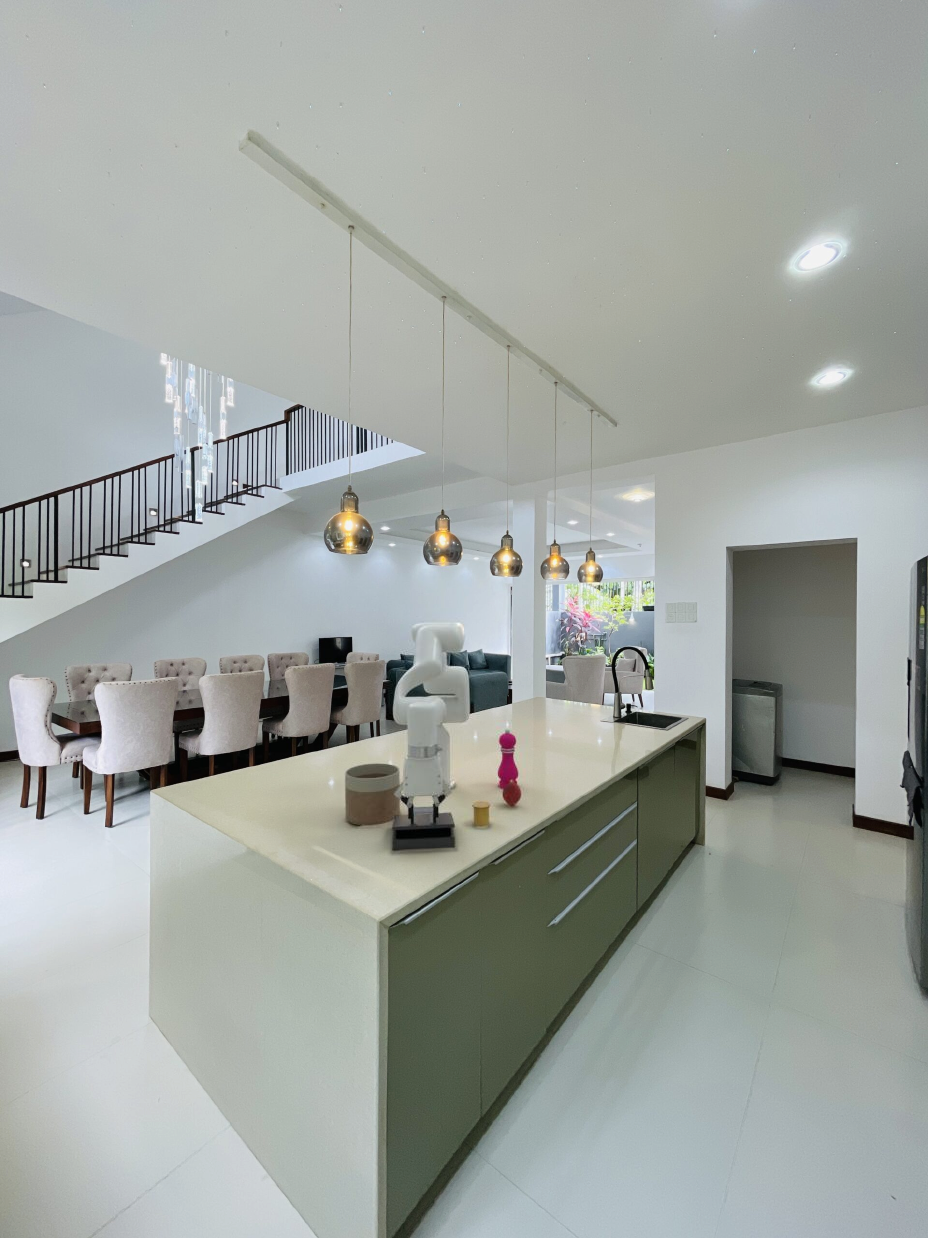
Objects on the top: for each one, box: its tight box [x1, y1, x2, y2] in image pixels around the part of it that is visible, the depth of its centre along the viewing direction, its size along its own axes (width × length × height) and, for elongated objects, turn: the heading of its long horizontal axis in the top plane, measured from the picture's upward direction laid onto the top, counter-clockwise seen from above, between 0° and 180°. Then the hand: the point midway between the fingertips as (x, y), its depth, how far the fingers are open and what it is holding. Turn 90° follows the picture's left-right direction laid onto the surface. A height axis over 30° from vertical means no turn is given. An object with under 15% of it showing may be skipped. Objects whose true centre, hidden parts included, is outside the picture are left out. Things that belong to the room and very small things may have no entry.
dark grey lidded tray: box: [391, 827, 456, 851], centre depth 136 cm, size 15×16×3 cm
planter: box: [344, 762, 401, 826], centre depth 152 cm, size 16×16×14 cm
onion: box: [501, 780, 522, 807], centre depth 160 cm, size 6×6×8 cm
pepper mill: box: [497, 728, 519, 789], centre depth 179 cm, size 7×7×20 cm
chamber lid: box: [391, 805, 456, 831], centre depth 136 cm, size 16×16×5 cm
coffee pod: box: [471, 801, 491, 827], centre depth 145 cm, size 5×5×6 cm
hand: (423, 820), depth 133 cm, fingers closed on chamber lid, 5 cm apart
